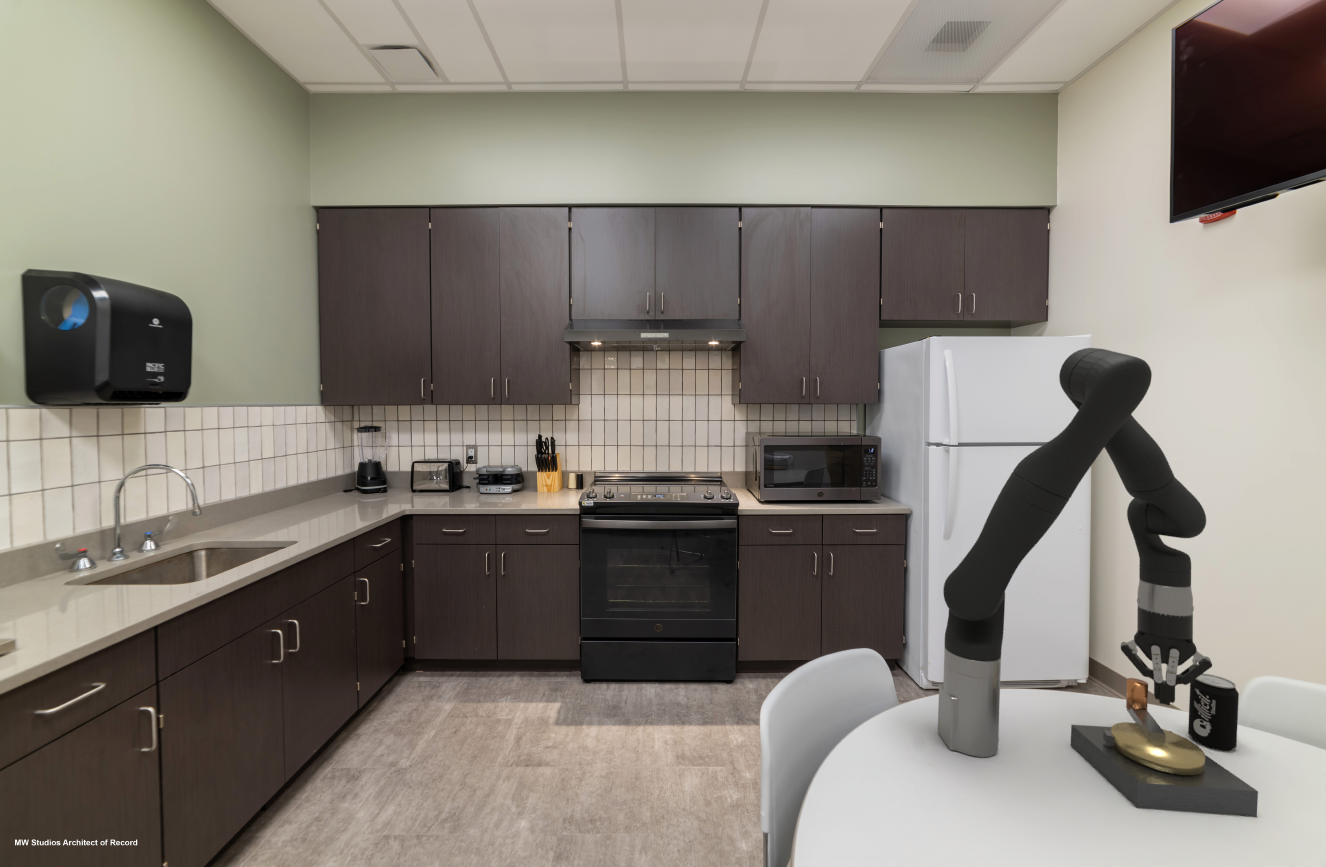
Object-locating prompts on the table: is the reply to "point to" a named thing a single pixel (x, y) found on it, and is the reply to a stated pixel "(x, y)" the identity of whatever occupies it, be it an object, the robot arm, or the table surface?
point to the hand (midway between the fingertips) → (1164, 702)
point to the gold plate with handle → (1152, 738)
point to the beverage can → (1213, 712)
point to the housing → (1165, 780)
